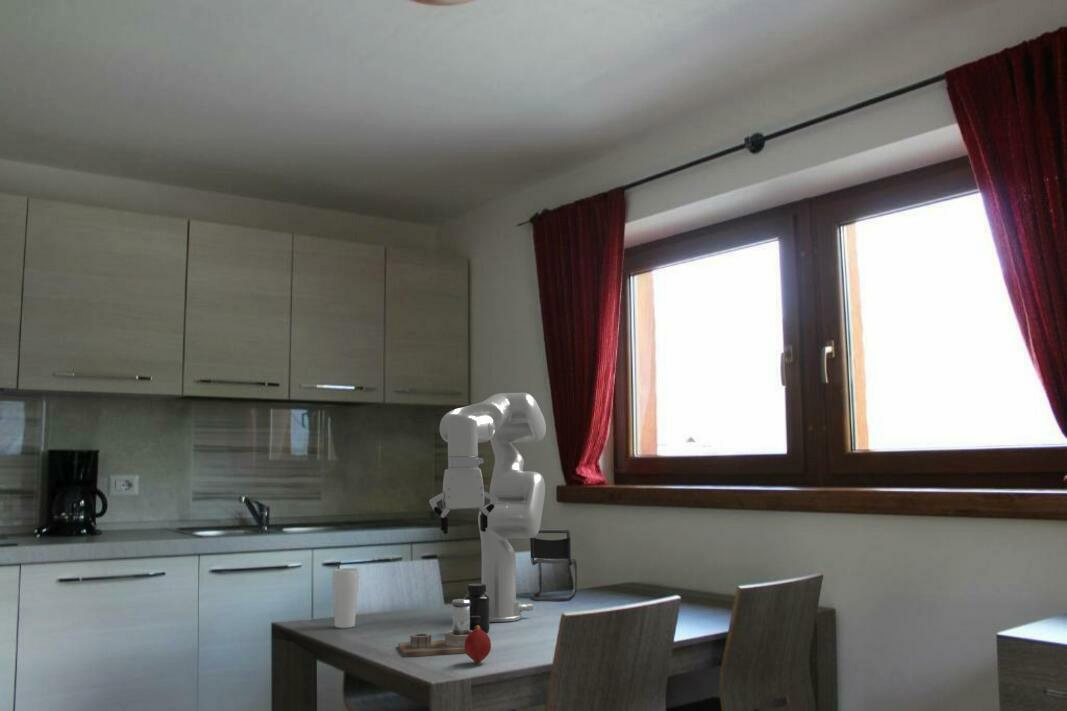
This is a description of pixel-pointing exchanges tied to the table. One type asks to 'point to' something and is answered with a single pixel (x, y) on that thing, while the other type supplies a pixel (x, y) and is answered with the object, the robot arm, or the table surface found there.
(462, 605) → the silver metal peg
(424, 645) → the fitting board
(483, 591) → the supplement bottle
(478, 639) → the onion
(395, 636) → the table surface
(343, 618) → the drinking glass
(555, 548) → the chair
